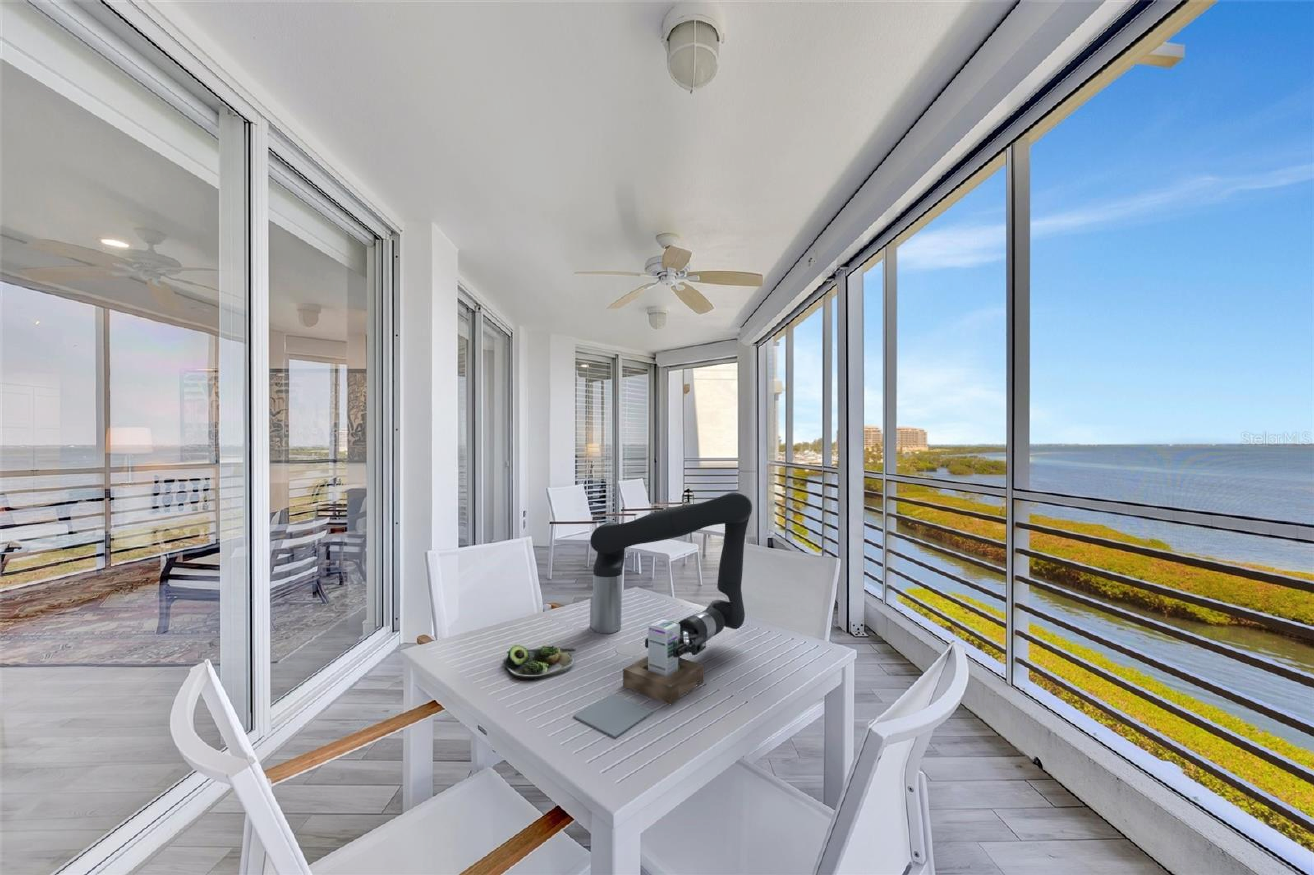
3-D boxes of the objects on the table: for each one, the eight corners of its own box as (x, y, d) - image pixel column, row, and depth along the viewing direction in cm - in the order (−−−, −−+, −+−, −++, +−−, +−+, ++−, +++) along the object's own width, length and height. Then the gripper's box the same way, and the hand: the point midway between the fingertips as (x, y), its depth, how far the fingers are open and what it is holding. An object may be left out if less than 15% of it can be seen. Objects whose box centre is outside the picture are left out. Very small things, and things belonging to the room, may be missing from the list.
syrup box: (666, 692, 112) (667, 629, 113) (646, 684, 116) (648, 624, 116) (680, 683, 117) (681, 623, 117) (660, 676, 120) (661, 617, 121)
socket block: (622, 685, 115) (623, 668, 115) (658, 665, 126) (658, 650, 126) (670, 705, 107) (670, 686, 107) (703, 682, 118) (703, 665, 118)
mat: (573, 717, 101) (573, 715, 101) (611, 695, 110) (611, 693, 110) (615, 738, 94) (615, 736, 94) (652, 713, 103) (652, 711, 103)
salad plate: (564, 645, 139) (564, 629, 140) (590, 669, 125) (591, 651, 125) (496, 660, 129) (497, 642, 129) (516, 687, 114) (517, 668, 114)
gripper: (674, 609, 133) (637, 626, 120) (719, 621, 124) (684, 640, 111) (674, 637, 132) (636, 656, 119) (719, 650, 124) (684, 673, 111)
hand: (660, 648), depth 115 cm, fingers open, 8 cm apart
